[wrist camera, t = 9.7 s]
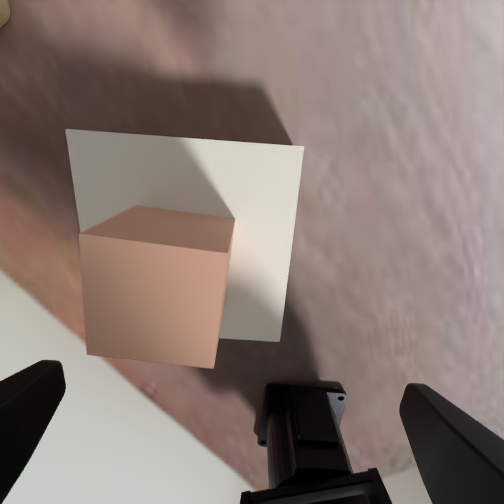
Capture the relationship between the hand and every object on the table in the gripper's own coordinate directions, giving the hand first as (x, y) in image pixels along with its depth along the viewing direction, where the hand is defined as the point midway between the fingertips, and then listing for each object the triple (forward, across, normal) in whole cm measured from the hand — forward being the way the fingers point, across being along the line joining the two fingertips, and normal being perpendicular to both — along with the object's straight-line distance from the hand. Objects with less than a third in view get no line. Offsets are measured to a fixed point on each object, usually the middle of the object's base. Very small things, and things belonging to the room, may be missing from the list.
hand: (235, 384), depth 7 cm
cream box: (+12, +3, -1) cm, 13 cm away
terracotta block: (+8, +3, 0) cm, 9 cm away
